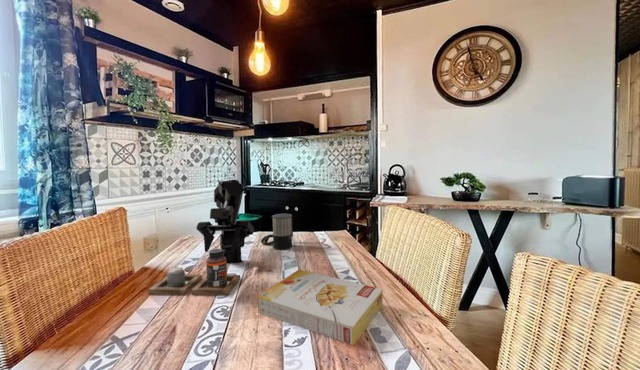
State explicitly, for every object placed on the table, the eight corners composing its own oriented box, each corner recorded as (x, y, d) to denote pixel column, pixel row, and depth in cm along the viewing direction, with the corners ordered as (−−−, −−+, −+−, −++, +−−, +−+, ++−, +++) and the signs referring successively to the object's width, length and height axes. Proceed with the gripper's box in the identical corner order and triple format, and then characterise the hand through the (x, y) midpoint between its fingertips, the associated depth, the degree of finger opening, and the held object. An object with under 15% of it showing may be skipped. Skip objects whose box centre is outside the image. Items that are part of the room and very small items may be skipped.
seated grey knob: (173, 282, 94) (172, 266, 94) (188, 282, 94) (187, 266, 93) (164, 289, 89) (163, 272, 89) (180, 289, 89) (179, 272, 88)
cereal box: (298, 268, 94) (384, 286, 80) (299, 284, 95) (384, 305, 81) (255, 295, 76) (355, 324, 63) (256, 315, 77) (355, 348, 63)
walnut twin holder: (169, 281, 97) (169, 274, 97) (240, 282, 96) (240, 275, 96) (148, 297, 86) (148, 289, 86) (228, 298, 85) (228, 290, 85)
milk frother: (291, 250, 129) (290, 217, 127) (256, 250, 129) (254, 217, 128) (295, 241, 143) (294, 211, 142) (263, 241, 144) (262, 211, 142)
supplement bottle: (221, 290, 88) (219, 254, 87) (203, 289, 89) (201, 253, 88) (230, 282, 93) (229, 248, 92) (213, 281, 94) (212, 247, 94)
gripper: (195, 199, 99) (179, 241, 90) (246, 196, 96) (235, 239, 87) (210, 216, 108) (197, 255, 99) (258, 213, 105) (249, 254, 95)
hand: (218, 251), depth 95 cm, fingers open, 9 cm apart
